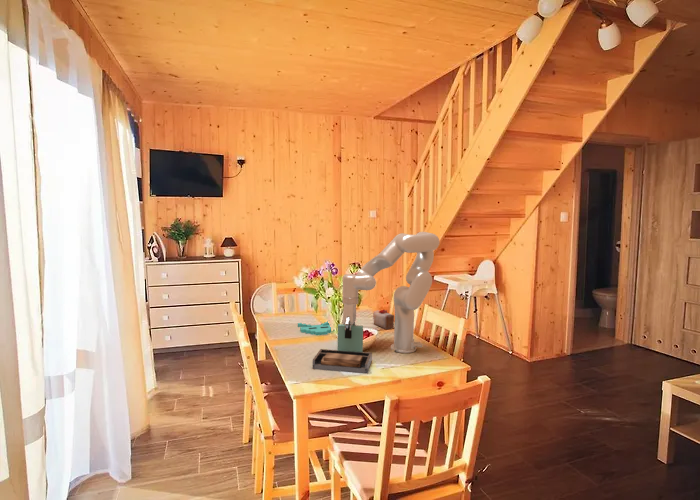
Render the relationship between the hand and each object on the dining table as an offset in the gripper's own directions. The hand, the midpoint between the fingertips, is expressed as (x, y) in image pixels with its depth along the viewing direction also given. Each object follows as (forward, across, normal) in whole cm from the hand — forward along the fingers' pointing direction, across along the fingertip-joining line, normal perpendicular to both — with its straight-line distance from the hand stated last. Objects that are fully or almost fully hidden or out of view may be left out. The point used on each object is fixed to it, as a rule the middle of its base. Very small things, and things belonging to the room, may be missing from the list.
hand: (350, 335), depth 207 cm
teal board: (+9, 0, 0) cm, 9 cm away
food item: (+10, -49, +11) cm, 51 cm away
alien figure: (+10, -34, -25) cm, 43 cm away
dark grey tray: (+9, +17, 0) cm, 19 cm away
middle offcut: (+7, +19, -1) cm, 20 cm away
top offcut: (+5, +19, +1) cm, 20 cm away
